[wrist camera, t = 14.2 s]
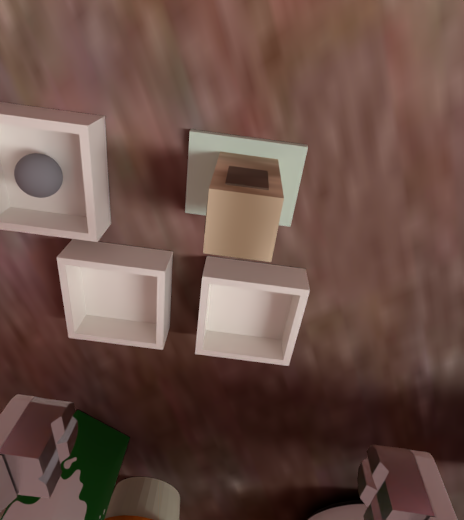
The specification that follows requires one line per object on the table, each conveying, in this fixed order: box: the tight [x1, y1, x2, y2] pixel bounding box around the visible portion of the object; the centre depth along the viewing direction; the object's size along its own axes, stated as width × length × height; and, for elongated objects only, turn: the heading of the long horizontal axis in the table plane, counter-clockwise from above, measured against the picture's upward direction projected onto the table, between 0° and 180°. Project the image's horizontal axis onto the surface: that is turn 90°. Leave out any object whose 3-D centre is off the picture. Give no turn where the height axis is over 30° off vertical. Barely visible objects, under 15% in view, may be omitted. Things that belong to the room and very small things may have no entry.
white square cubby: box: [57, 239, 173, 350], centre depth 32 cm, size 8×8×3 cm
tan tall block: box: [203, 151, 284, 262], centre depth 24 cm, size 4×4×7 cm
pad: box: [185, 129, 308, 226], centre depth 27 cm, size 8×6×1 cm
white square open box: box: [0, 102, 111, 242], centre depth 27 cm, size 8×8×3 cm
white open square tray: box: [195, 256, 310, 366], centre depth 32 cm, size 8×8×3 cm
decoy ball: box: [14, 153, 63, 198], centre depth 26 cm, size 3×3×3 cm
